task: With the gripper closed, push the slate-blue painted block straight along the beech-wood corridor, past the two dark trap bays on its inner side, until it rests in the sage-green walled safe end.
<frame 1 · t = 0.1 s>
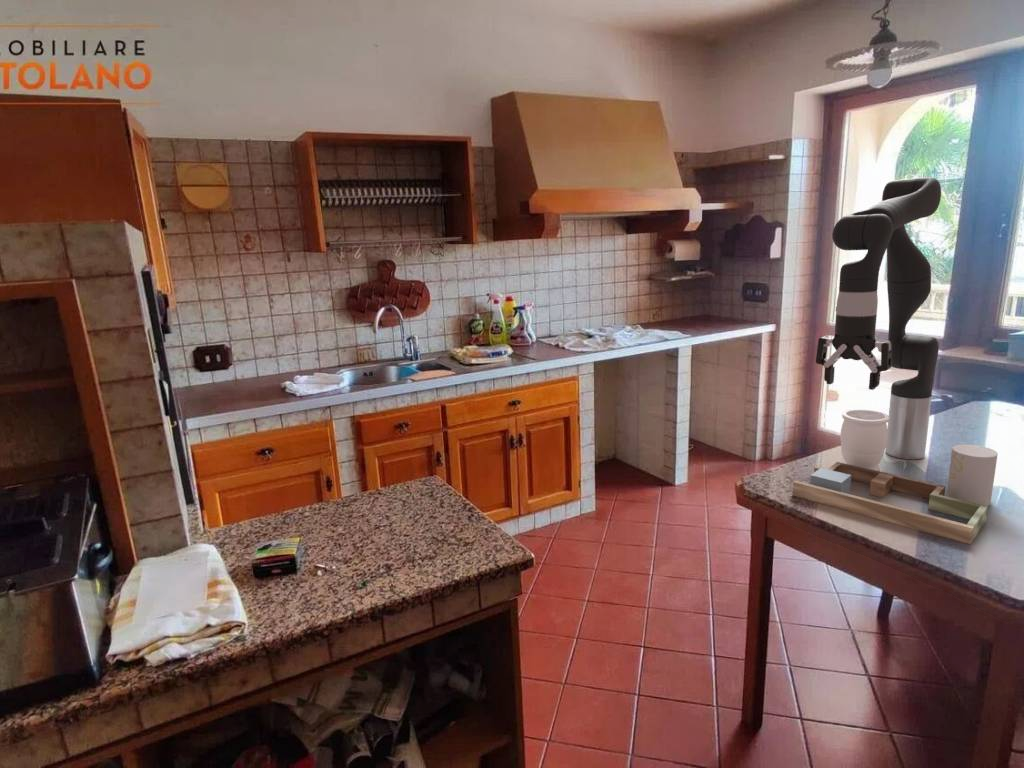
hand: (850, 386, 129), 29 cm above the table, fingers open, 8 cm apart
white cylinder: (967, 500, 137), on the table
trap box: (880, 506, 136), on the table
block: (829, 494, 144), on the table
jar: (860, 469, 157), on the table
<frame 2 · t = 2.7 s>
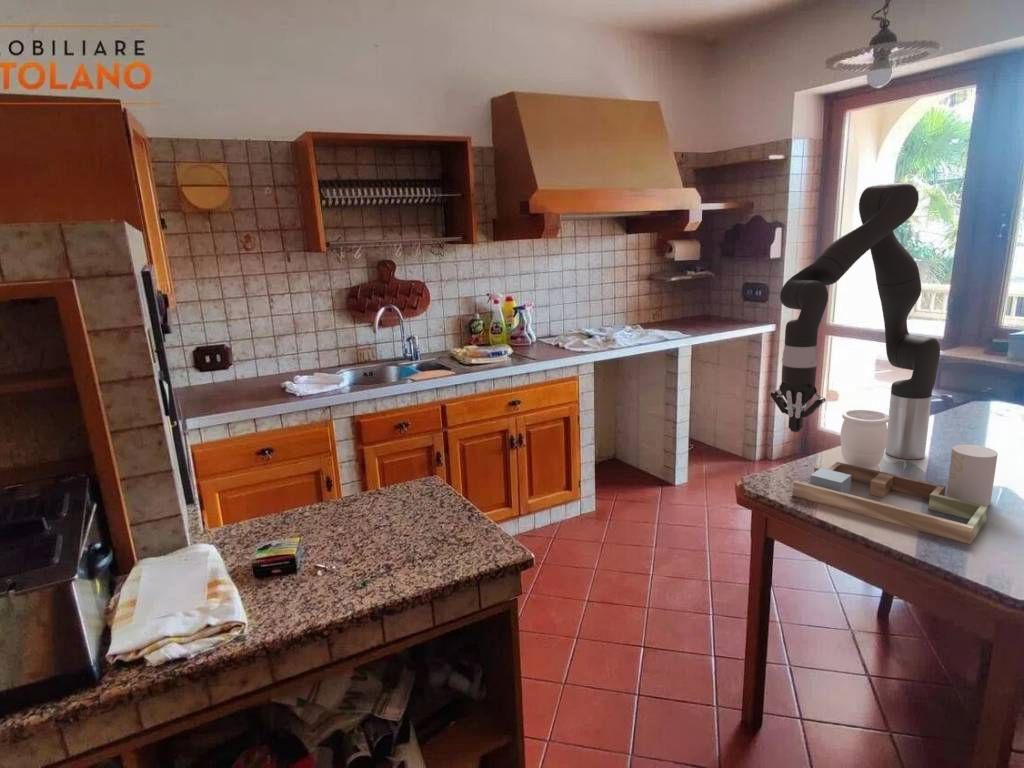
hand: (795, 431, 147), 14 cm above the table, fingers closed
nothing on the table moved.
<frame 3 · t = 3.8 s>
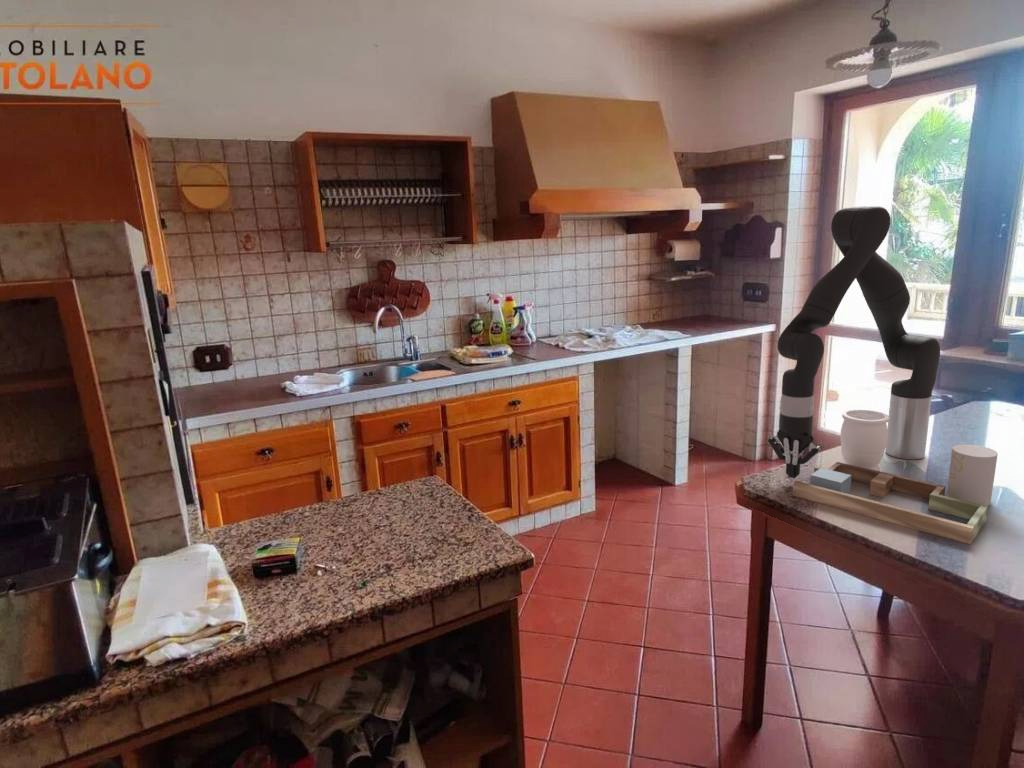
hand: (792, 476, 150), 2 cm above the table, fingers closed
nothing on the table moved.
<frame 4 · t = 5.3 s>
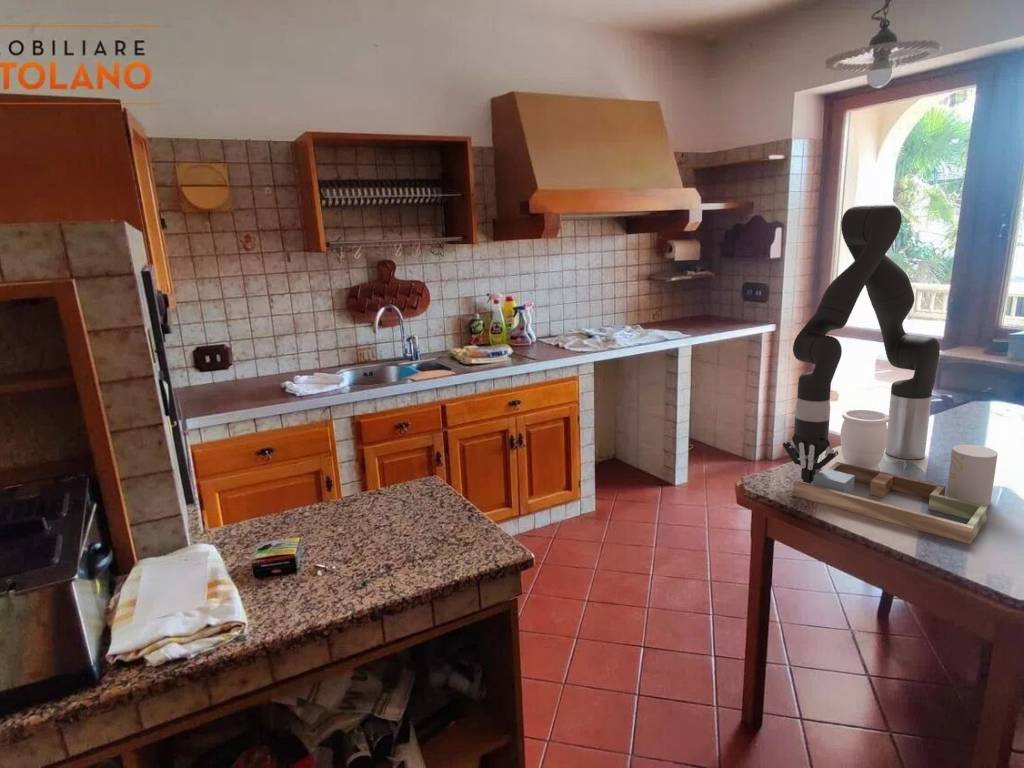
hand: (807, 481, 147), 2 cm above the table, fingers closed
block: (832, 494, 143), on the table, touching gripper
everything else where it was.
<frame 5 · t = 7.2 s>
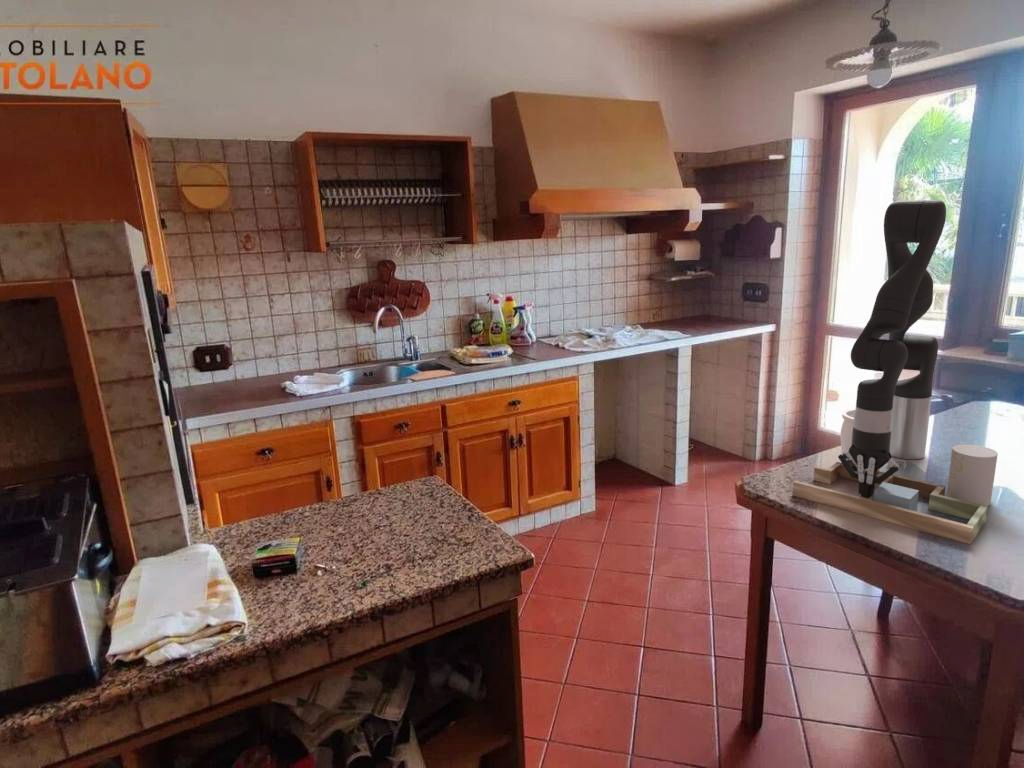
hand: (865, 496, 138), 2 cm above the table, fingers closed
block: (894, 510, 134), on the table, touching gripper
everything else where it was.
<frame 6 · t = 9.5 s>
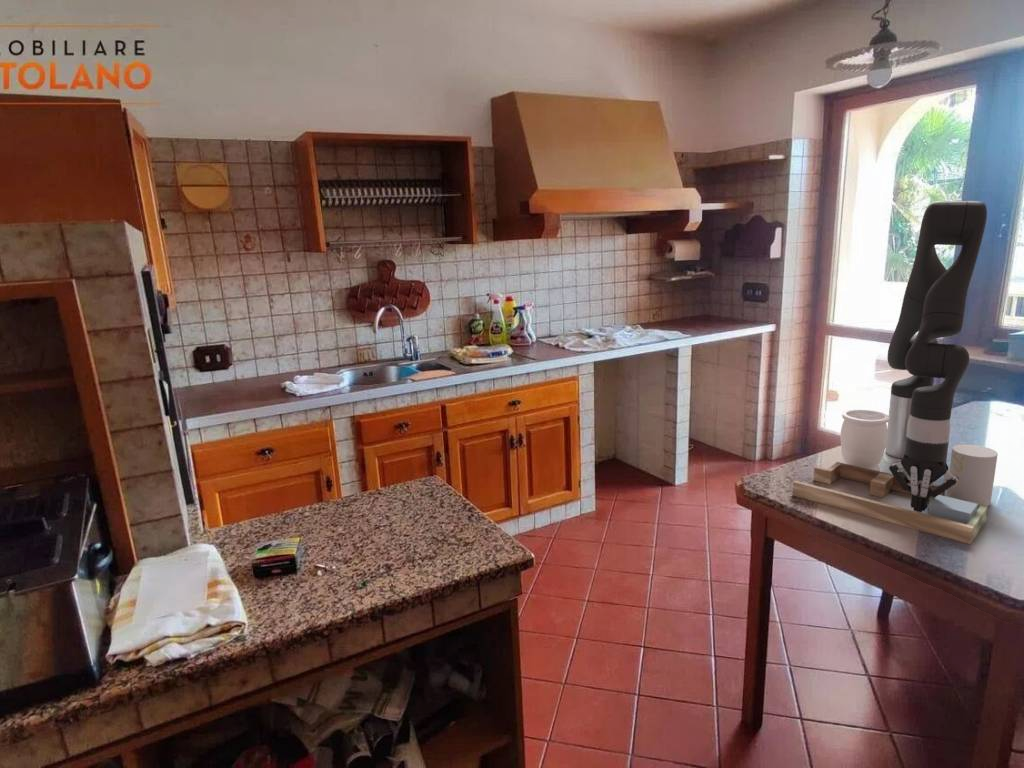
hand: (918, 510, 130), 2 cm above the table, fingers closed
block: (950, 525, 126), on the table, touching gripper, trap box
everything else where it was.
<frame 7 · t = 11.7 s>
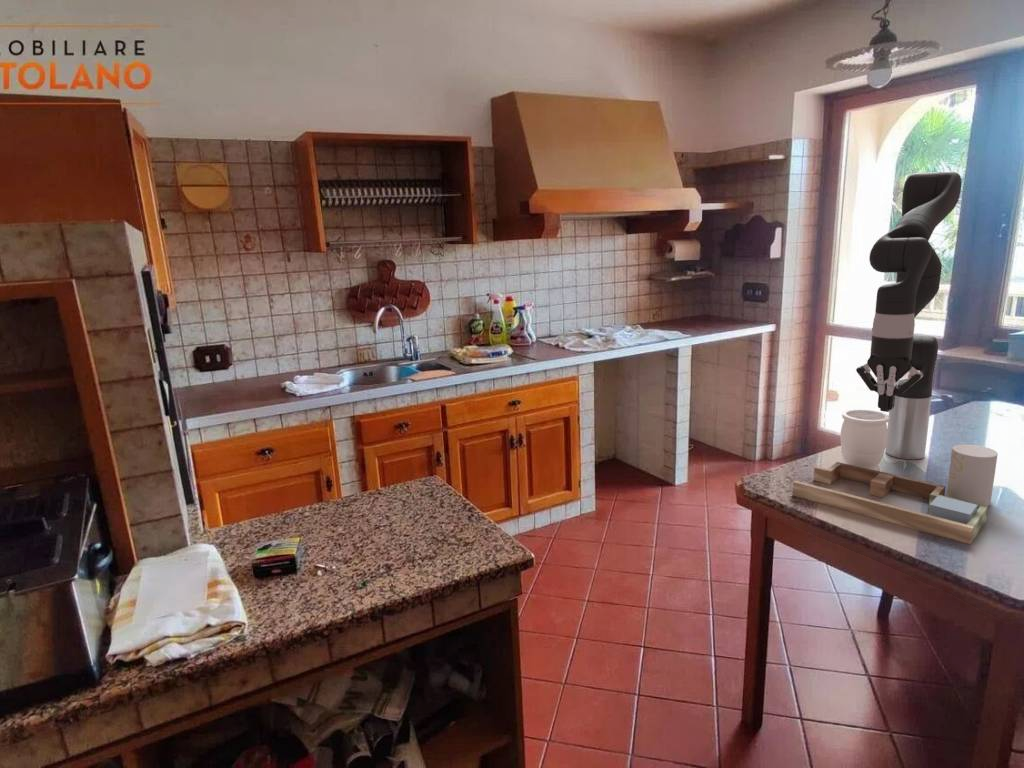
hand: (885, 410, 131), 23 cm above the table, fingers closed
block: (950, 526, 126), on the table
everything else where it was.
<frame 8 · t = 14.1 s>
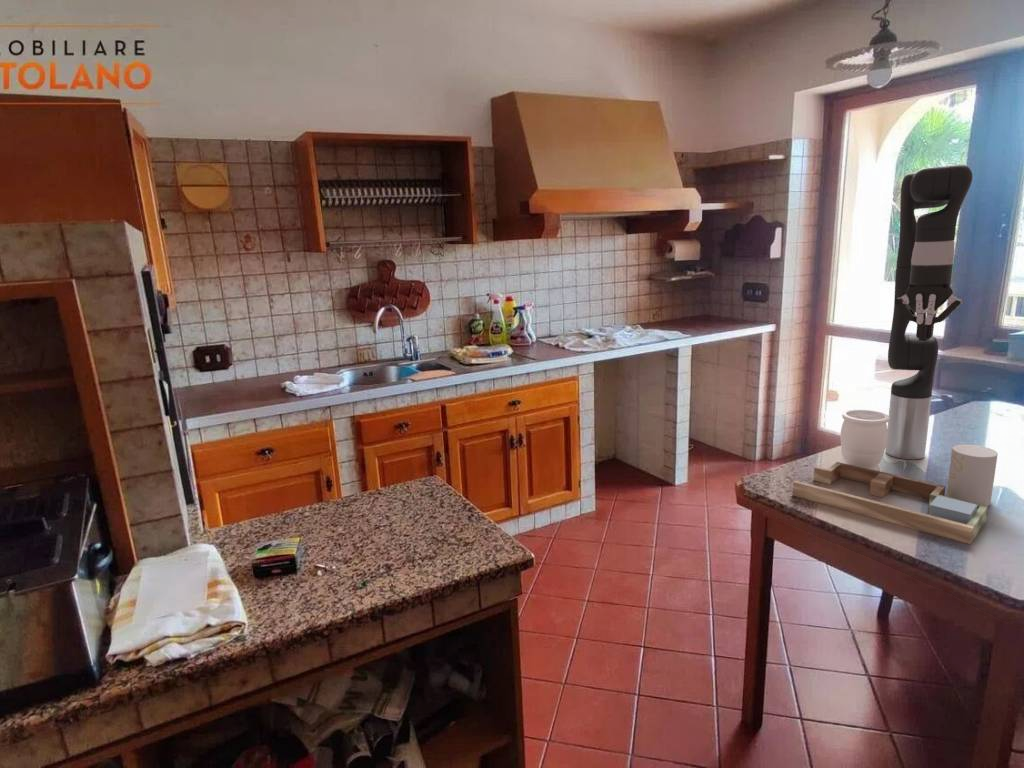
hand: (923, 340, 133), 37 cm above the table, fingers closed
nothing on the table moved.
at the end: block inside the target area (0.8 cm from its centre), on the table; block tilted 0° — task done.
